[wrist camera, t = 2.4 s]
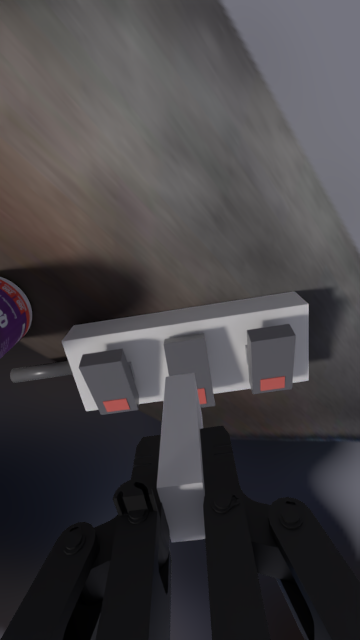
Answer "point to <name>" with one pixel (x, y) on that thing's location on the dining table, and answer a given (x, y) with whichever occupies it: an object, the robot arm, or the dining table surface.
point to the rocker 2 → (191, 363)
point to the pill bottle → (13, 315)
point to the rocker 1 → (110, 381)
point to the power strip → (152, 329)
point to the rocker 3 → (271, 358)
